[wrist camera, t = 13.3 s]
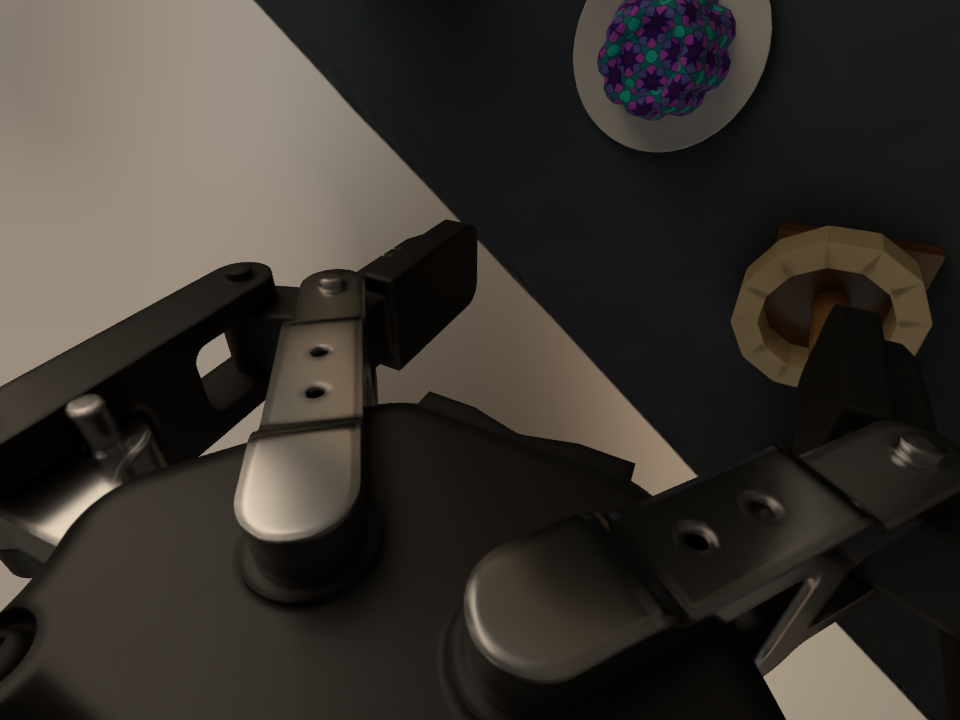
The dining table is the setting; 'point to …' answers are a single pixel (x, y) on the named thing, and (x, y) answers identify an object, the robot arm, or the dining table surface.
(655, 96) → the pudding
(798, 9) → the dining table surface
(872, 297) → the peg stand
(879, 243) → the tape roll
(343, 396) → the robot arm
